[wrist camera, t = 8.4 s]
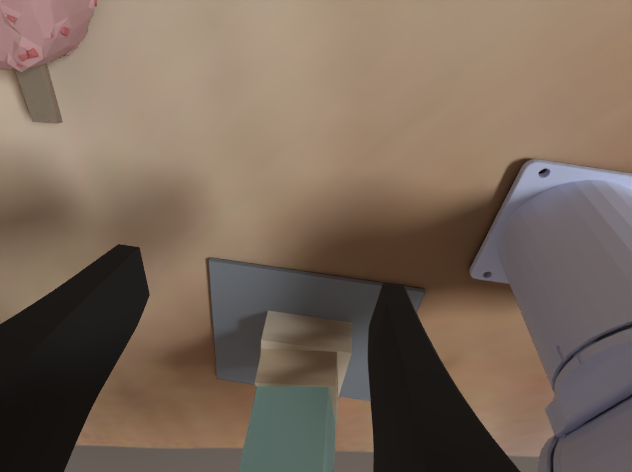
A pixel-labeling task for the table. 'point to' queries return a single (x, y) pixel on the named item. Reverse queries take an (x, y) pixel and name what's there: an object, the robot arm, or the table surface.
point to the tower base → (309, 337)
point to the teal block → (290, 431)
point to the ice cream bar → (40, 46)
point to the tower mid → (299, 370)
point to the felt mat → (294, 298)
